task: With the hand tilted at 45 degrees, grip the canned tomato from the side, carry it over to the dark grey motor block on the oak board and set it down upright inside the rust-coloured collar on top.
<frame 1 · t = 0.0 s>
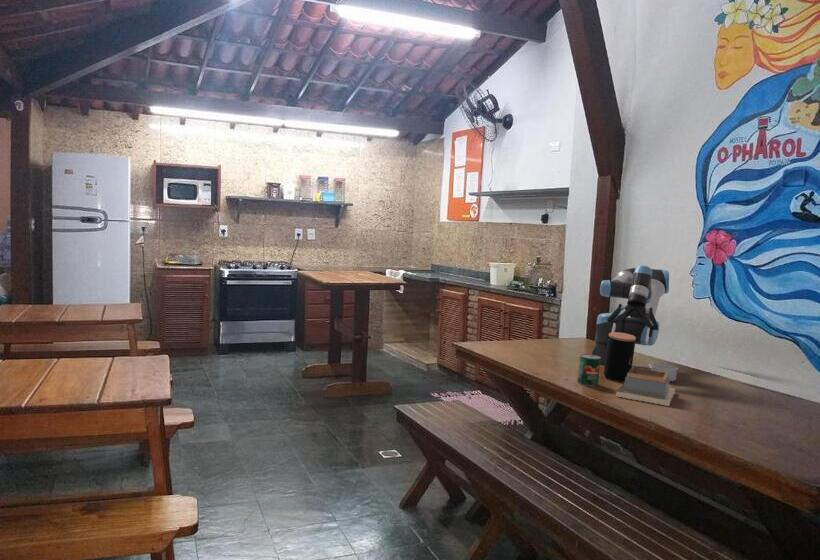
hand: (628, 340, 249), 16 cm above the table, tool tilted 35°, fingers open, 13 cm apart
coffee jar: (616, 377, 249), on the table, touching gripper
motor: (646, 395, 225), on the table
canned tomato: (587, 384, 237), on the table
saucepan: (652, 379, 253), on the table
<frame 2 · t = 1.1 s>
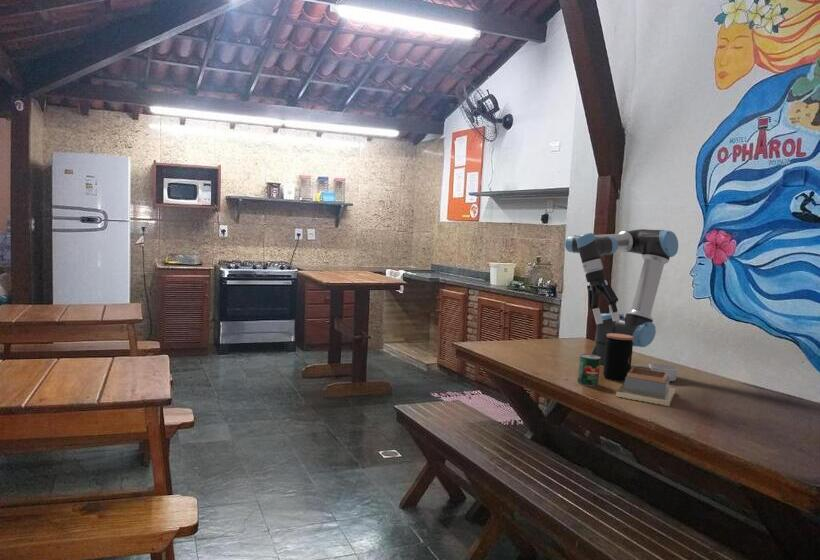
hand: (607, 322, 242), 24 cm above the table, tool tilted 20°, fingers open, 13 cm apart
coffee jar: (616, 378, 250), on the table
everything else where it was.
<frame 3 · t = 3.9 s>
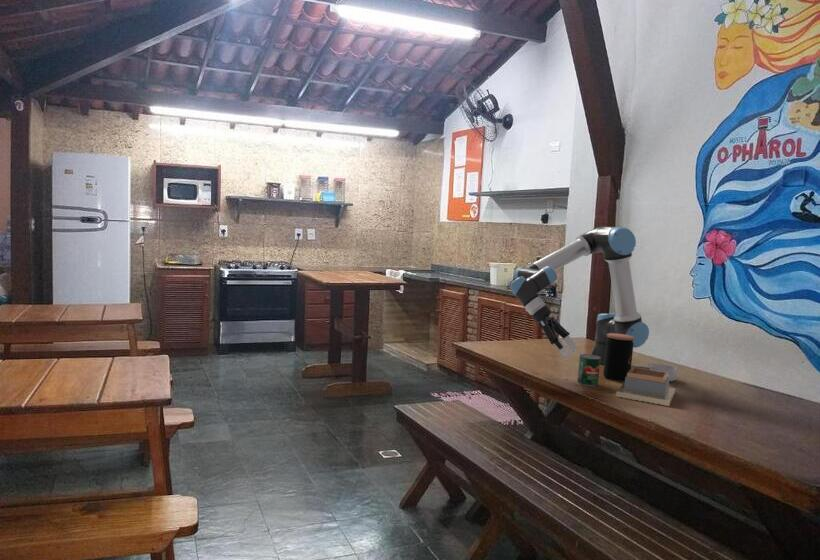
hand: (571, 352, 239), 11 cm above the table, tool tilted 45°, fingers open, 13 cm apart
nothing on the table moved.
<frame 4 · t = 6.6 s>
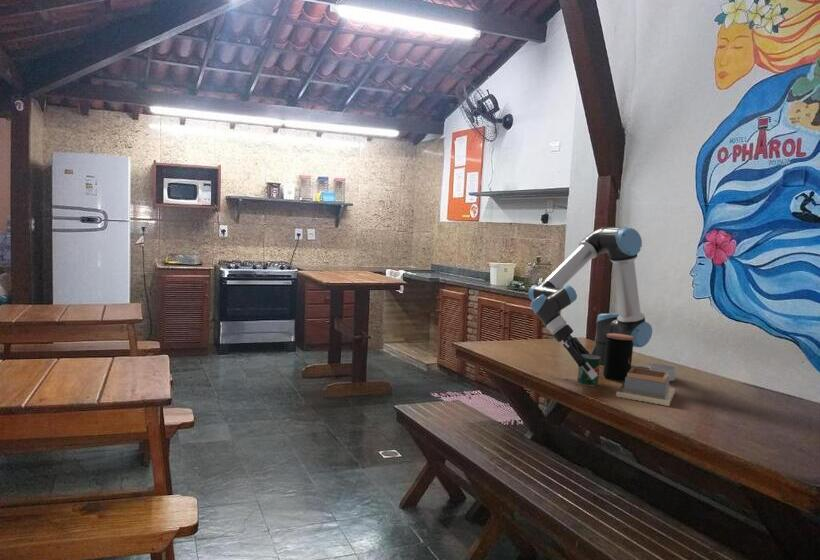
hand: (597, 375, 235), 4 cm above the table, tool tilted 45°, fingers closed on canned tomato, 8 cm apart
canned tomato: (587, 384, 237), on the table, touching gripper
everything else where it was.
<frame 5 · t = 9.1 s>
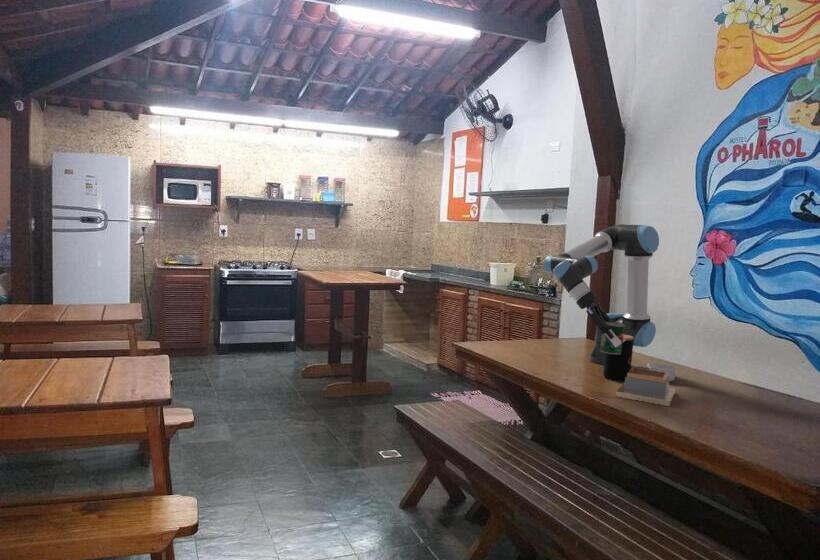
hand: (621, 343, 228), 18 cm above the table, tool tilted 45°, fingers closed on canned tomato, 8 cm apart
canned tomato: (610, 352, 230), point 14 cm above the table, touching gripper
everything else where it was.
when the fingers open (12 cm above the table, at t = 11.8 s): canned tomato drops 1 cm, resting on motor.
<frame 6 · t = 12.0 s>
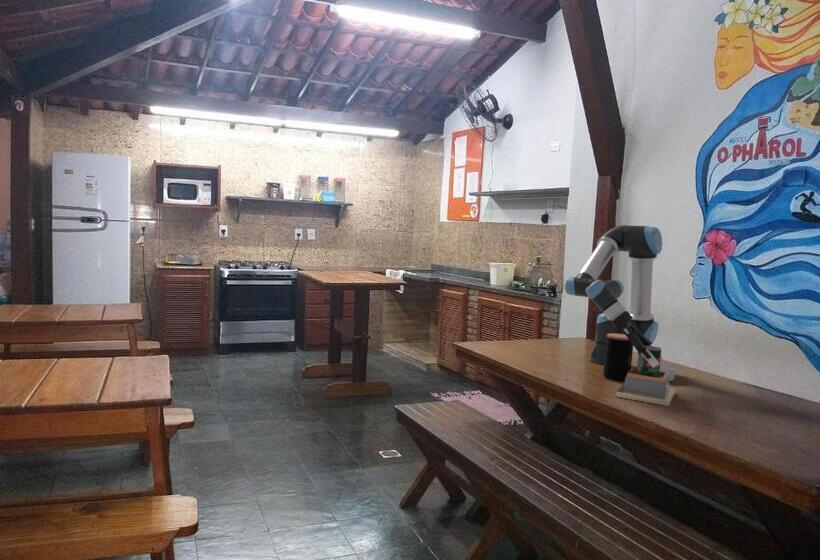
hand: (658, 363, 223), 13 cm above the table, tool tilted 45°, fingers open, 10 cm apart
canned tomato: (647, 377, 225), point 7 cm above the table, touching motor
everything else where it was.
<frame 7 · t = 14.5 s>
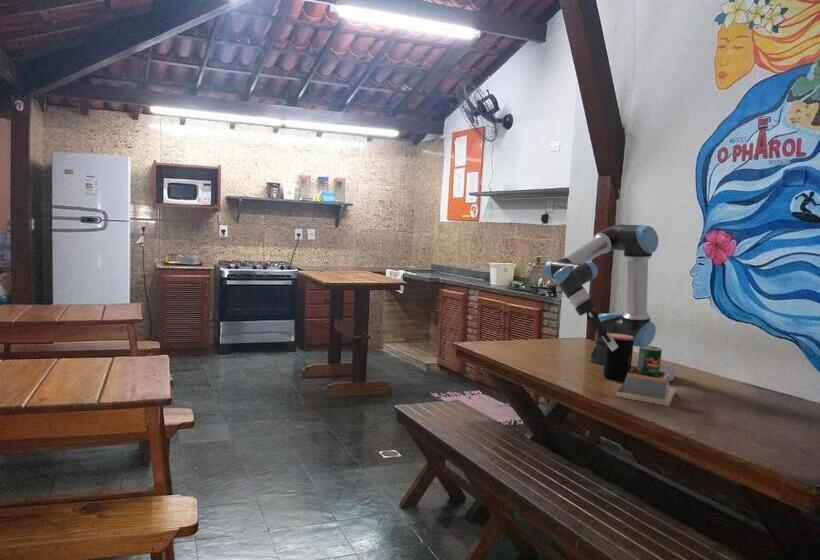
hand: (615, 348, 231), 16 cm above the table, tool tilted 40°, fingers open, 13 cm apart
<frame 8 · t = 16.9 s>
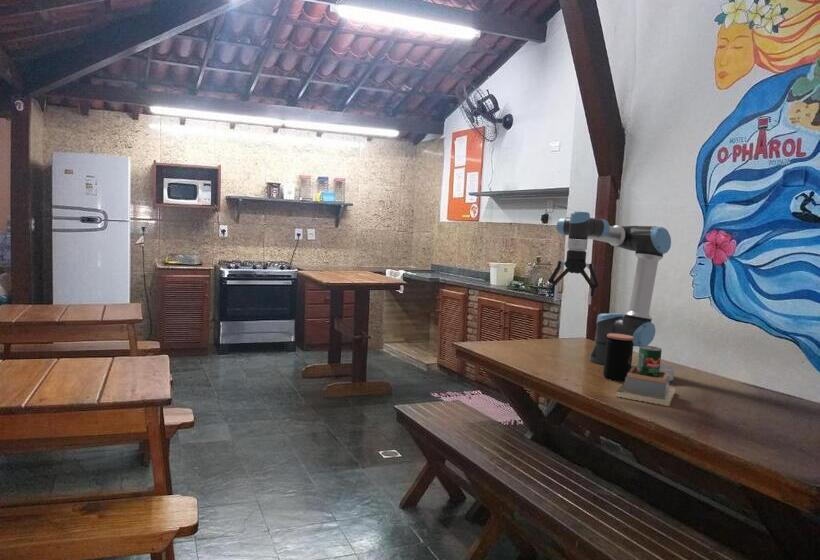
hand: (572, 302, 244), 31 cm above the table, tool pointing down, fingers open, 13 cm apart
at the end: canned tomato 0.1 cm off-centre on the motor, point 6.8 cm above the motor's base; canned tomato tilted 0°; the gripper is holding nothing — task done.
